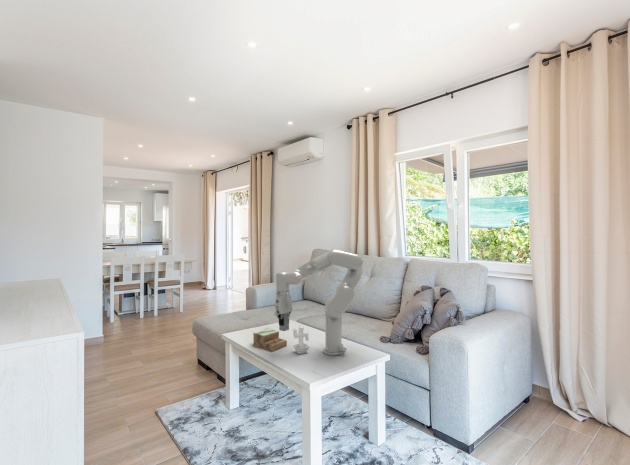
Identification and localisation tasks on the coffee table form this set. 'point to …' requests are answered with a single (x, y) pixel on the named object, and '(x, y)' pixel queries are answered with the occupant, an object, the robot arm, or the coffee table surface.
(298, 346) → the figurine
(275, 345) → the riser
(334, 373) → the coffee table surface
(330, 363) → the coffee table surface
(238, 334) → the coffee table surface
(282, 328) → the column
